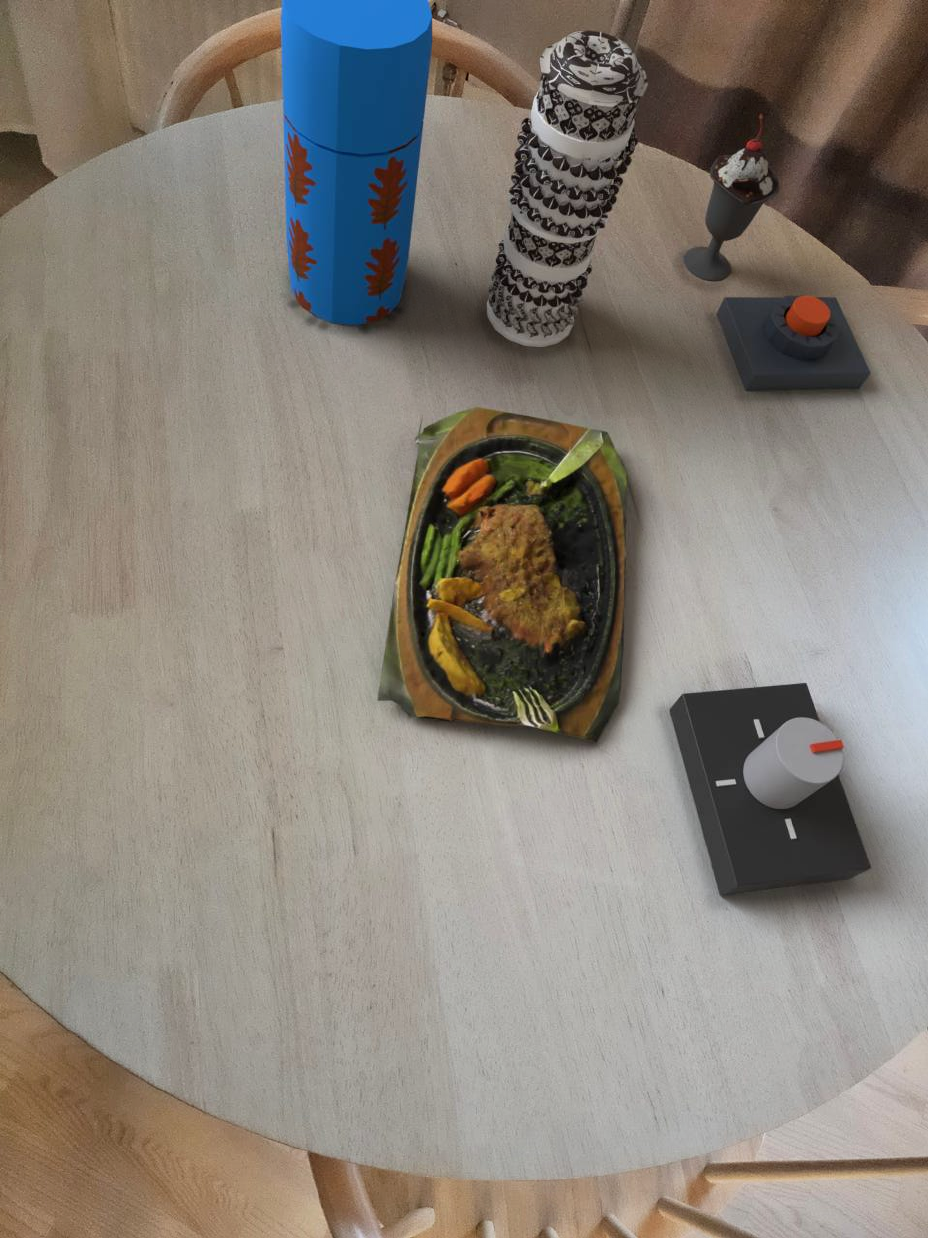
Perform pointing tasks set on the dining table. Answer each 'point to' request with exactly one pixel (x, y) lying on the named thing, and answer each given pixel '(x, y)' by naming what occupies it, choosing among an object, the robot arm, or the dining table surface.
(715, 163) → the sundae
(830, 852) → the dial panel
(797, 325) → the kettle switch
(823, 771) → the knob
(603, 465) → the prepared meal
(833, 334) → the switch block
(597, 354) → the dining table surface
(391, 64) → the thermos
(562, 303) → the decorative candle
